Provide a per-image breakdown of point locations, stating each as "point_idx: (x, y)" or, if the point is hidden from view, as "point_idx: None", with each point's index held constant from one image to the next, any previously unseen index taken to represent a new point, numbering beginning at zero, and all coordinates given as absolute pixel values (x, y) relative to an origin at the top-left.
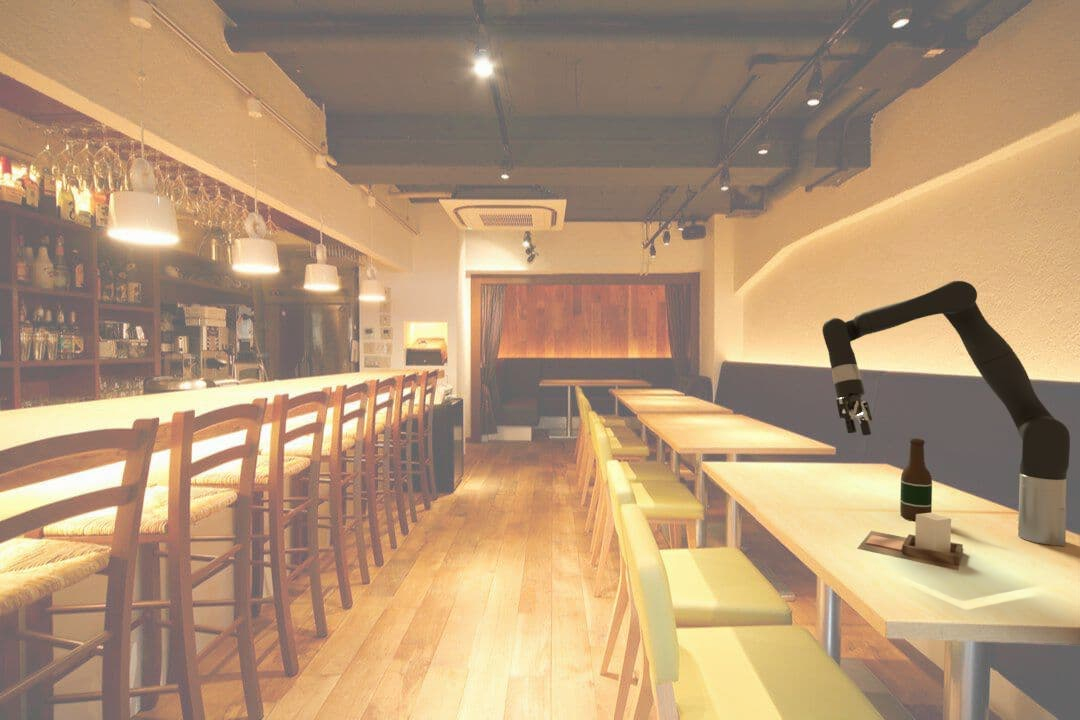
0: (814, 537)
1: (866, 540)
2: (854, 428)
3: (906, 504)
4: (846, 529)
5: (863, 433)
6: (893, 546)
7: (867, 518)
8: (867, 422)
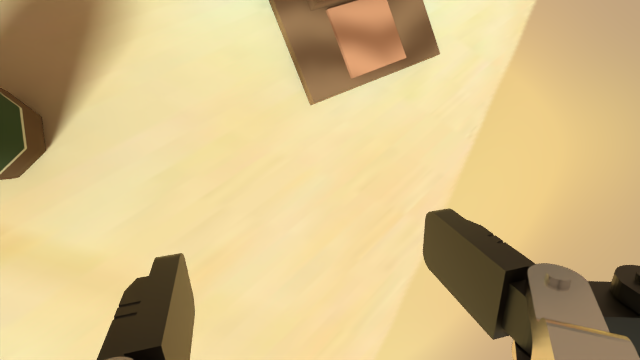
0: (428, 155)
1: (385, 69)
2: (463, 219)
3: (26, 140)
4: (324, 160)
5: (193, 310)
6: (380, 11)
7: (175, 202)
8: (159, 343)
